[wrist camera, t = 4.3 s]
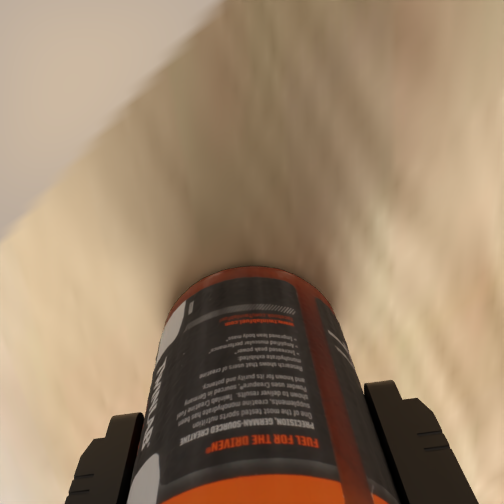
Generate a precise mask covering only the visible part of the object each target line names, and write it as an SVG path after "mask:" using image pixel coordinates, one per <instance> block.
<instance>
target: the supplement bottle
mask: <svg viewBox="0 0 504 504" xmlns="http://www.w3.org/2000/svg"><path fill="white" fill-rule="evenodd" d="M126 504H401V502H400V498H399V495H398V493H397V490H396V487H395V484H394V481H393V478H392V474H391V472H390V470H389V466H388V463H387V460H386V457H385V454H384V452H383V449H382V447H381V444H380V441H379V437H378V434H377V431H376V429H375V426H374V423H373V420H372V417H371V414H370V411H369V408H368V404H367V402H366V399H365V396H364V394H363V391H362V388H361V385H360V382H359V379H358V376H357V374H356V371H355V367H354V365H353V362H352V359H351V356H350V354H349V350H348V347H347V343H346V341H345V339H344V336H343V332H342V330H341V327H340V324H339V322H338V321H337V319H336V316H335V314H334V312H333V310H332V308H331V305H330V304H329V302H328V301H327V300H326V298H325V297H324V296H323V295H322V294H321V293H320V292H319V291H318V290H317V289H316V288H315V287H313V286H312V285H311V284H309V283H308V282H306V281H305V280H303V279H301V278H300V277H298V276H296V275H294V274H291V273H289V272H286V271H284V270H281V269H277V268H269V267H262V266H248V267H238V268H232V269H226V270H223V271H220V272H217V273H215V274H212V275H210V276H207V277H205V278H203V279H202V280H200V281H199V282H197V283H196V284H194V285H193V286H191V287H190V288H189V289H188V290H187V291H186V292H185V293H184V294H183V295H182V296H181V297H180V298H179V299H178V300H177V302H176V303H175V305H174V306H173V308H172V309H171V311H170V313H169V315H168V318H167V320H166V322H165V326H164V330H163V333H162V336H161V339H160V342H159V348H158V353H157V357H156V364H155V369H154V372H153V378H152V384H151V387H150V393H149V397H148V402H147V408H146V414H145V419H144V424H143V428H142V432H141V438H140V442H139V445H138V452H137V457H136V460H135V464H134V469H133V474H132V478H131V483H130V491H129V495H128V499H127V503H126Z"/></svg>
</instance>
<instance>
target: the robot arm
mask: <svg viewBox="0 0 504 504" xmlns="http://www.w3.org/2000/svg"><path fill="white" fill-rule="evenodd" d="M364 396H365V399H366V402H367V404H368V408H369V411H370V414H371V417H372V420H373V423H374V426H375V429H376V431H377V434H378V437H379V441H380V444H381V447H382V449H383V452H384V454H385V457H386V460H387V463H388V466H389V470H390V472H391V474H392V478H393V481H394V484H395V487H396V490H397V493H398V495H399V498H400V502H401V504H479V503H478V501H477V499H476V497H475V495H474V493H473V491H472V489H471V487H470V485H469V483H468V481H467V479H466V477H465V475H464V473H463V471H462V469H461V467H460V465H459V463H458V461H457V459H456V457H455V455H454V453H453V451H452V449H450V446H449V443H448V441H447V439H446V437H445V435H444V434H443V433H442V429H441V427H440V425H439V423H438V421H437V419H436V417H435V415H434V413H433V412H432V411H431V410H430V409H429V408H428V407H427V406H426V405H424V404H423V403H422V402H421V401H420V400H419V399H418V398H412V399H404V400H402V398H401V396H400V394H399V391H398V389H397V387H396V385H395V383H394V381H393V380H388V381H381V382H373V383H365V384H364ZM144 419H145V418H144V416H143V414H142V413H141V412H139V413H131V414H124V415H116V416H113V417H112V418H111V420H110V423H109V426H108V430H107V433H106V436H105V438H98V439H94V440H93V441H92V442H91V444H90V445H89V446H88V448H87V449H86V450H85V452H84V453H83V454H82V456H81V457H80V460H79V463H78V466H77V469H76V472H75V475H74V480H73V481H72V484H71V487H70V490H69V496H67V498H66V501H65V504H126V503H127V499H128V495H129V491H130V483H131V478H132V474H133V469H134V464H135V460H136V457H137V452H138V445H139V442H140V438H141V432H142V428H143V424H144Z"/></svg>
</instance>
